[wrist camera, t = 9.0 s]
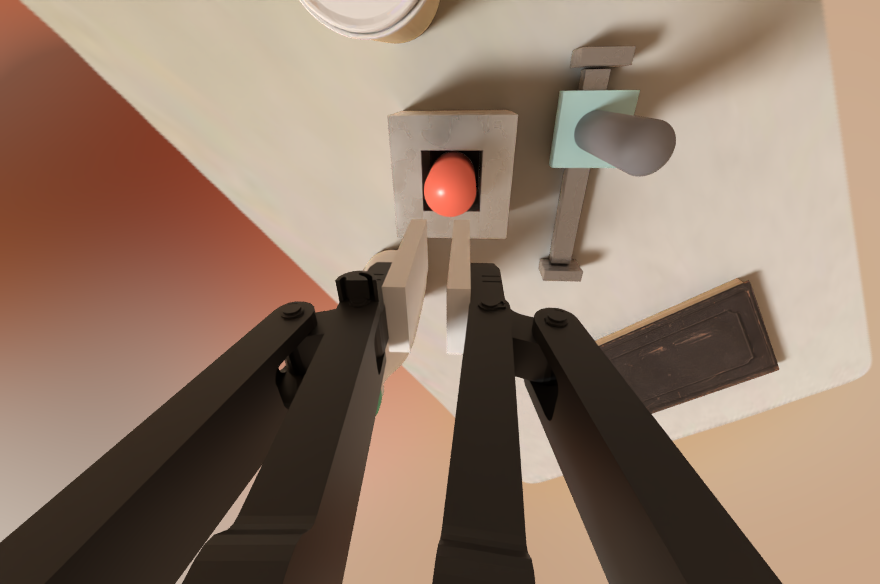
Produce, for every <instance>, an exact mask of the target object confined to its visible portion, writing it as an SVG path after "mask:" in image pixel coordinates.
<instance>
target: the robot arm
mask: <svg viewBox="0 0 880 584" xmlns="http://www.w3.org/2000/svg"><path fill="white" fill-rule="evenodd" d="M427 273H428V245H427V219H411V221H410V223H409V225H408V228H407V230H406V232H405V235H404V237H403V239H402V241H401V244H400V246H399V248H398V251H397V253H396V255H395V257H394V260H393V262H376V263H375V264H373V265H372V266H370V267H369V269H368V270H367V271H352V272H349V273H345V274H343V275H341V276H339V277H338V278H337V279H336V280H335V281H336V286H337V291H338V296H339V301H340V302H339V304H338V306H337V309H333V310H329V311H323V312H317V313H315V309H314V306H313V305H312V304H310V303H307V302H291V303H287V304H285V305H283V306H281V307H279V308H277V309H276V310H274V311H273V312H272V313H271V314H270V315H268V316H267V317H266V318H265V319H264V320H263V321H261V322H260V323H259V324H258V325H257V326H256V327H254V328H253V329H252V330H251V331H250V332H248V333H247V334H246V335H245V336H244V337H243V338H241V339H240V340H239V341H238V342H237V343H235V344H234V345H233V346H232V347H231V348H229V349H228V350H227V351H226V352H225V353H224V354H222V355H221V356H220V357H219V358H218V359H217V360H215V361H214V362H213V363H212V364H211V365H209V366H208V367H207V368H206V369H205V370H204V371H202V372H201V373H200V374H199V375H198V376H197V377H195V378H194V379H193V380H192V381H191V382H189V383H188V384H187V385H186V386H185V387H183V388H182V389H181V390H180V391H179V392H178V393H176V394H175V395H174V396H173V397H172V398H170V399H169V400H168V401H167V402H166V403H165V404H163V405H162V406H161V407H160V408H159V409H158V410H156V411H155V412H154V413H153V414H152V415H150V416H149V417H148V418H147V419H146V420H144V421H143V422H142V423H141V424H140V425H139V426H137V427H136V428H135V429H134V430H133V431H132V432H130V433H129V434H128V435H127V436H126V437H124V438H123V439H122V440H121V441H120V442H119V443H118V444H116V445H115V446H114V447H113V448H112V449H110V450H109V451H108V452H107V453H106V454H104V455H103V456H102V457H101V458H100V459H98V460H97V461H96V462H95V463H94V464H93V465H91V466H90V467H89V468H88V469H87V470H85V471H84V472H83V473H82V474H81V475H80V476H78V477H77V478H76V479H75V480H74V481H73V482H71V483H70V484H69V485H68V486H67V487H65V488H64V489H63V490H62V491H61V492H59V493H58V494H57V495H56V496H55V497H54V498H53V499H51V500H50V501H49V502H48V503H47V504H45V505H44V506H43V507H42V508H41V509H39V510H38V511H37V512H36V513H35V514H34V515H32V516H31V517H30V518H29V519H28V520H27V521H25V522H24V523H23V524H22V525H21V526H19V527H18V528H17V529H16V530H15V531H13V532H12V533H11V534H10V535H9V536H8V537H6V538H5V539H4V540H3V541H2V542H0V584H175V583H176V582H177V580H178V579H179V578H180V576H181V575H182V574H183V572H184V571H185V569H186V568H187V566H188V565H189V564H190V562H191V561H192V560H193V558H194V557H195V556H196V554H197V553H198V552H199V550H200V549H201V548H202V549H201V551H200V552H199V554H198V556H197V557H196V558H195V560H194V562H193V564H192V566H191V568H190V569H189V571H188V573H187V575H186V577H185V579H184V581H183V583H182V584H342V581H343V576H344V571H345V566H346V561H347V556H348V551H349V546H350V541H351V536H352V531H353V525H354V521H355V516H356V511H357V506H358V501H359V496H360V491H361V486H362V481H363V476H364V471H365V466H366V461H367V456H368V451H369V446H370V441H371V435H372V431H373V425H374V421H375V416H376V411H377V406H378V401H379V396H380V391H381V386H382V381H383V376H384V371H385V366H386V352H385V349H386V346H387V343H388V345H389V352H407V353H410V350H411V346H412V341H413V337H414V332H415V328H416V323H417V319H418V314H419V309H420V305H421V300H422V296H423V291H424V287H425V282H426V278H427ZM447 354H458V355H463V360H462V368H461V376H460V384H459V393H458V401H457V409H456V417H455V425H454V434H453V442H452V450H451V459H450V467H449V475H448V484H447V492H446V500H445V508H444V516H443V524H442V532H441V538H440V541H439V544H438V548H437V554H436V561H435V568H434V575H433V583H432V584H535V577H534V569H533V564H532V559H531V558H530V555H529V554H528V551H527V546H526V533H525V519H524V504H523V489H522V474H521V459H520V444H519V430H518V415H517V400H516V385H515V376H516V377H520V378H523V379H524V382H525V386H526V388H527V390H528V393H529V395H530V398H531V400H532V402H533V405H534V407H535V409H536V412H537V414H538V417H539V419H540V421H541V424H542V426H543V428H544V431H545V433H546V436H547V438H548V440H549V443H550V445H551V447H552V450H553V452H554V454H555V457H556V459H557V462H558V464H559V466H560V469H561V471H562V473H563V476H564V478H565V481H566V483H567V485H568V488H569V490H570V492H571V495H572V497H573V499H574V502H575V504H576V507H577V509H578V511H579V513H580V516H581V518H582V521H583V523H584V525H585V528H586V530H587V533H588V535H589V537H590V540H591V542H592V545H593V547H594V549H595V551H596V554H597V556H598V559H599V561H600V563H601V566H602V568H603V571H604V573H605V575H606V578H607V580H608V582H609V584H782V583H781V581H780V580H779V579H778V577H777V576H776V575H775V573H774V572H773V571H772V570H771V568H770V567H769V566H768V564H767V563H766V562H765V560H764V559H763V558H762V557H761V555H760V554H759V553H758V551H757V550H756V549H755V548H754V546H753V545H752V544H751V542H750V541H749V540H748V538H747V537H746V536H745V535H744V533H743V532H742V531H741V529H740V528H739V527H738V526H737V524H736V523H735V522H734V520H733V519H732V518H731V516H730V515H729V514H728V513H727V511H726V510H725V509H724V508H723V506H722V505H721V504H720V502H719V501H718V500H717V498H716V497H715V496H714V495H713V493H712V492H711V491H710V489H709V488H708V487H707V486H706V484H705V483H704V482H703V480H702V479H701V478H700V476H699V475H698V474H697V473H696V471H695V470H694V469H693V467H692V466H691V465H690V464H689V462H688V461H687V460H686V458H685V457H684V456H683V455H682V453H681V452H680V451H679V449H678V448H677V447H676V445H675V444H674V443H673V441H672V440H671V439H670V438H669V436H668V435H667V434H666V432H665V431H664V430H663V429H662V427H661V426H660V425H659V423H658V422H657V421H656V420H655V418H654V417H653V416H652V414H651V413H650V412H649V410H648V409H647V408H646V407H645V405H644V404H643V403H642V401H641V400H640V399H639V398H638V396H637V395H636V394H635V392H634V391H633V390H632V388H631V387H630V386H629V385H628V383H627V382H626V381H625V379H624V378H623V377H622V376H621V374H620V373H619V372H618V370H617V369H616V368H615V366H614V365H613V364H612V363H611V361H610V360H609V359H608V357H607V356H606V355H605V354H604V352H603V351H602V350H601V348H600V347H599V346H598V344H597V343H596V342H595V341H594V339H593V338H592V337H591V335H590V334H589V333H588V332H587V330H586V329H585V328H584V326H583V325H582V324H581V323H580V321H579V320H578V319H577V318H576V317H575V316H574V315H573V314H572V313H569V312H567V311H565V310H562V309H559V308H545V309H541V310H539V311H537V312H536V313H535V315H534V317H529V316H525V315H521V314H518V313H516V312H514V311H513V310H511V309H510V305H509V303H508V302H507V301H506V300H505V297H504V291H503V285H502V280H501V274H500V269H499V268H498V267H497V266H496V265H495V264H493V263H470V220H454V224H453V233H452V243H451V252H450V262H449V271H448V281H447ZM284 360H285V363H286V366H285V367H284V368H283V369H282V370H279V368H278V367H279V366H280V364H281V363H282V362H283V361H284ZM261 465H262V466H261ZM260 467H261V469H260V471H259V473H258V475H257V477H256V479H255V481H254V483H253V485H252V487H251V490H250V492H249V494H248V496H247V498H246V500H245V502H244V504H243V506H242V509H241V511H240V513H239V515H238V517H237V518H236V520H235V522H234V524H233V525H232V526H231V527H230V528H229V529H228V530H226V531H223V532H221V533H218V534H215V535H213V536H212V538H210V540H208V541H207V539H208V538H209V536H210V535H211V534H212V532H213V531H214V530H215V528H216V527H217V526H218V524H219V523H220V521H221V520H222V519H223V517H224V516H225V515H226V513H227V512H228V510H229V509H230V508H231V506H232V505H233V504H234V502H235V501H236V500H237V498H238V497H239V495H240V494H241V493H242V491H243V490H244V489H245V487H246V486H247V484H248V483H249V482H250V480H251V479H252V478H253V476H254V475H255V474H256V472H257V470H258V469H259V468H260ZM206 541H207V543H205V542H206ZM204 543H205V545H204ZM203 545H204V546H203ZM202 546H203V547H202Z"/></svg>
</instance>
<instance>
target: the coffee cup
mask: <svg viewBox="0 0 880 584" xmlns="http://www.w3.org/2000/svg"><path fill="white" fill-rule="evenodd" d="M299 1H300V2H301V3H302V5H303V6H304V7H305V8H306V9H307V10H308V11H309V13H310V14H311V15H313V16H314V17H315V18H316V19H317V20H318V21H319V22H321V23H322V24H323V25H325V26H326V27H327V28H329V29H331V30H333V31H334V32H336V33H339V34H341V35H343V36H346V37H350V38H354V39H360V40H374V41H380V42H386V43H405V42H409V41H411V40H413V39H415V38H417V37H418V36H420V35H421V34H422V33H423V32H424V31H425V30H426V29H427V28H428V26H429V25H430V23H431V22H432V20H433V18H434V16H435V14H436V12H437V9H438V6H439V2H440V0H299Z"/></svg>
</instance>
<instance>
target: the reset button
mask: <svg viewBox="0 0 880 584" xmlns="http://www.w3.org/2000/svg"><path fill="white" fill-rule="evenodd" d="M424 196H425V199H426V202H427V204H428V205H429V207H430V208H431V209H432V210H433V211H434V212H436V213H437V214H439V215H442V216H446V217H455V216H458V215H461V214H463V213H465V212H466V211H467V210H468V209H469V208H470V207H471V206H472V204H473V202H474V200H475V196H476V181H475V170H474V166H473V164H472V162H471V160H470V159H469V158H468V157H467V156H466V155H465V154H463V153H460V152H457V151H449V152H446V153H444V154H442V155H440V156H439V157H438V158H437V159H436V160H435V162H434V164H433V166H432V168H431V170H430V173H429V175H428V177H427V179H426V181H425V185H424Z"/></svg>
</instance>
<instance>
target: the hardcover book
mask: <svg viewBox="0 0 880 584" xmlns="http://www.w3.org/2000/svg"><path fill="white" fill-rule="evenodd" d="M595 342H596V343H597V344H598V346H599V347H600V348H601V350H602V351H603V352H604V354H605V355H606V356H607V357H608V359H609V360H610V361H611V363H612V364H613V365H614V366H615V368H616V369H617V370H618V372H619V373H620V374H621V376H622V377H623V378H624V379H625V381H626V382H627V383H628V385H629V386H630V387H631V388H632V390H633V391H634V392H635V394H636V395H637V396H638V398H639V399H640V400H641V401H642V403H643V404H644V405H645V407H646V408H647V409H648V410H649V412H650V413H651V414H652V413H655V412H658V411H661V410H664V409H667V408H670V407H673V406H675V405H678V404H681V403H684V402H687V401H690V400H693V399H696V398H699V397H702V396H705V395H707V394H710V393H713V392H716V391H719V390H722V389H725V388H728V387H731V386H734V385H737V384H740V383H742V382H745V381H748V380H751V379H754V378H757V377H760V376H763V375H766V374H769V373H772V372H775V371H777V370H779V367H778V364H777V361H776V358H775V355H774V352H773V349H772V346H771V343H770V340H769V337H768V334H767V331H766V328H765V325H764V322H763V319H762V316H761V313H760V310H759V307H758V304H757V301H756V298H755V296H754V293H753V290H752V287H751V284H750V281H746V282H742V281H740V280H739V279H737V278H736V279H734V280H732V281H730V282H727V283H725V284H723V285H721V286H718V287H716V288H714V289H712V290H709V291H707V292H705V293H703V294H700V295H698V296H696V297H694V298H691V299H689V300H687V301H685V302H682V303H680V304H678V305H676V306H673V307H671V308H669V309H666V310H664V311H662V312H660V313H657V314H655V315H653V316H651V317H648V318H646V319H644V320H642V321H639V322H637V323H635V324H633V325H630V326H628V327H626V328H624V329H621V330H619V331H617V332H615V333H612V334H610V335H608V336H606V337H603V338H601V339H599V340H597V341H595Z"/></svg>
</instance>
